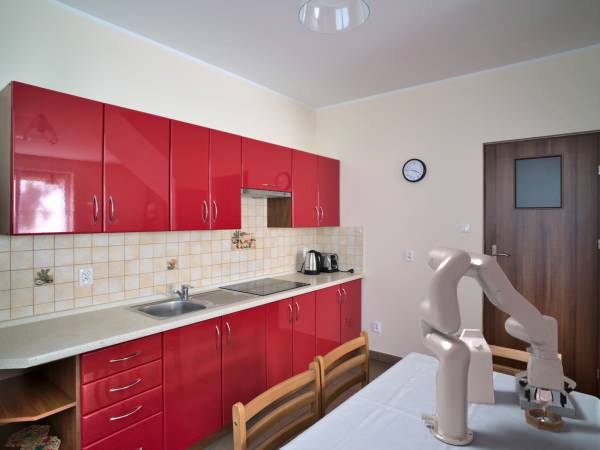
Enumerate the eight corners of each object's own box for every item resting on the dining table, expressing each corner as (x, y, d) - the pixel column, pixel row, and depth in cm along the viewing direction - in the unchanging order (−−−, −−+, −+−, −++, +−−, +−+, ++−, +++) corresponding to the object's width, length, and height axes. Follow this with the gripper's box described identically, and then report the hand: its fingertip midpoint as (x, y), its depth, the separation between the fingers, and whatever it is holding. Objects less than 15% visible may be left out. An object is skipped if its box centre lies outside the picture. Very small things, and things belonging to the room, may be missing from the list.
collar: (527, 426, 121) (527, 419, 121) (523, 411, 131) (523, 405, 131) (565, 434, 117) (565, 427, 117) (558, 418, 126) (558, 411, 126)
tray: (520, 409, 133) (520, 399, 133) (514, 386, 151) (514, 377, 151) (574, 419, 126) (574, 409, 126) (561, 394, 144) (561, 385, 144)
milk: (482, 389, 148) (482, 325, 148) (494, 403, 137) (494, 334, 137) (451, 388, 150) (451, 325, 149) (461, 402, 138) (461, 334, 138)
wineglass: (544, 428, 120) (544, 392, 120) (529, 419, 126) (529, 385, 126) (558, 426, 122) (558, 390, 122) (542, 417, 127) (542, 383, 127)
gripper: (516, 353, 124) (516, 403, 124) (578, 360, 117) (579, 413, 117) (513, 346, 131) (514, 393, 131) (572, 352, 123) (573, 402, 124)
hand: (545, 402), depth 124 cm, fingers open, 9 cm apart
